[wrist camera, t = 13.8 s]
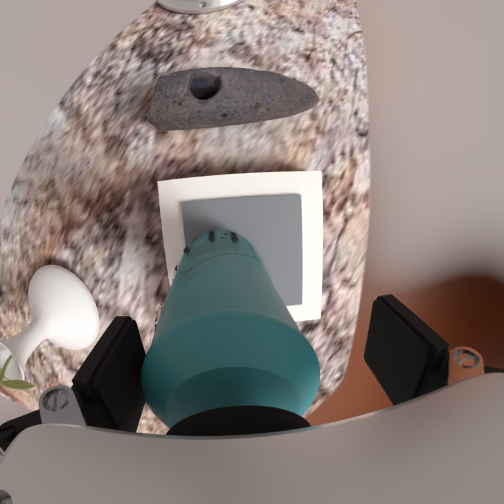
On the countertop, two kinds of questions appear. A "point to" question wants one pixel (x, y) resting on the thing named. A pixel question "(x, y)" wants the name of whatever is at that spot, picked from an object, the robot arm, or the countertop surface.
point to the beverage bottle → (227, 347)
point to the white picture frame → (255, 226)
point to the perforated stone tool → (226, 98)
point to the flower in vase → (50, 321)
